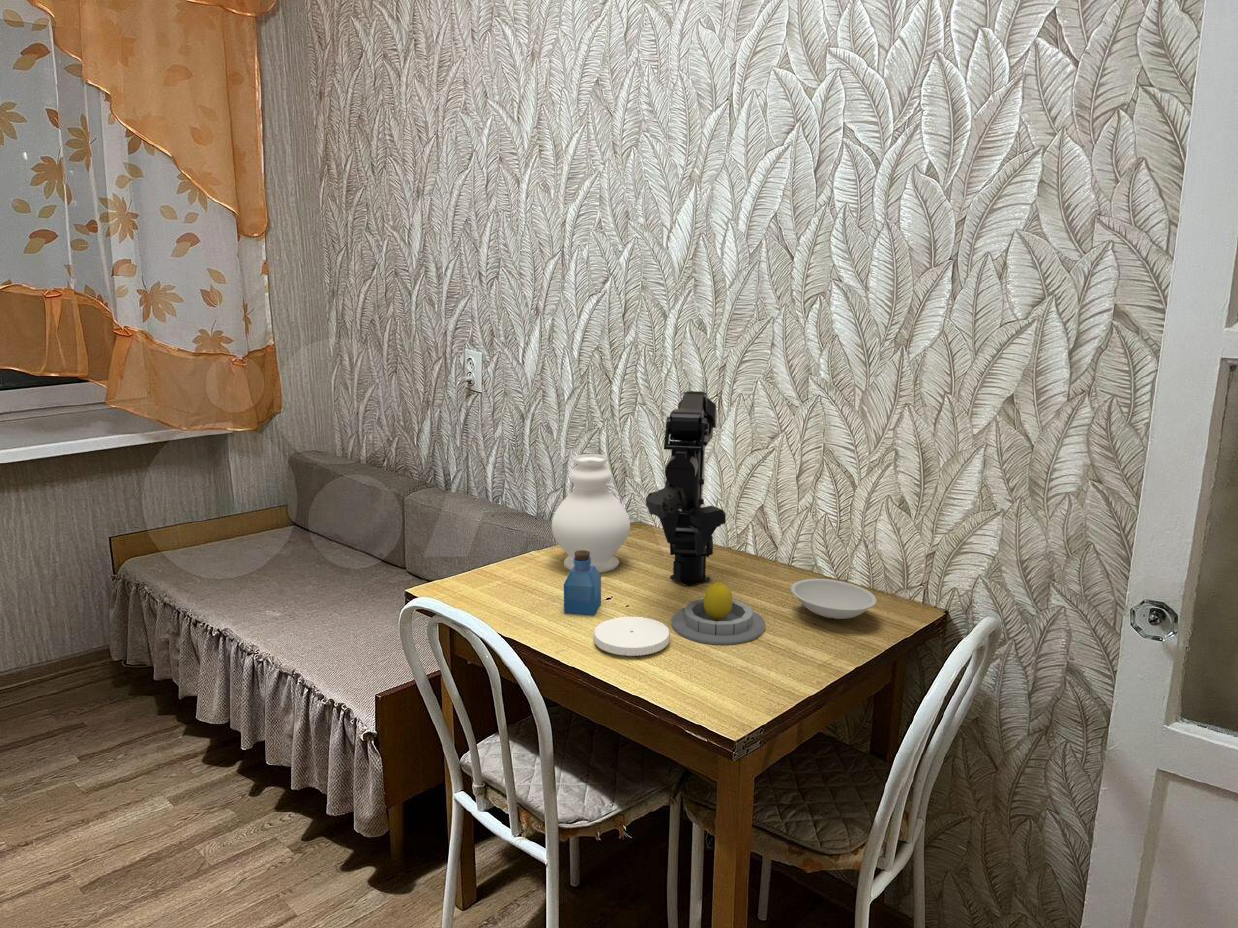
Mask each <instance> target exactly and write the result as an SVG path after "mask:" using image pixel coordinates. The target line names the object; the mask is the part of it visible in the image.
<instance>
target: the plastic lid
mask: <svg viewBox="0 0 1238 928" xmlns="http://www.w3.org/2000/svg"><path fill="white" fill-rule="evenodd" d="M593 641H594V644H595V645H596V646H597V647H598V648H599V649H600V650H602V651H604V652H607V653H610V654H615V655H619V656H628V657H632V656H633V657H635V656H637V657H638V656H645V655H649V654H651V655H652V654H654V653H657V652H660V651H662V650H664V649H665V648H666V647H667V646H668V645H669V643H670V629H669V628H668V626H667V625H666V624H664V623H662V622H660V621H658V620H655V619H652V618H649V617H640V616H622V617H621V616H620V617H616V618H614V617H613V618H610V619H607V620H605V621H603V622H601V623H599V624H597V625H596V626H595V628H594V631H593Z"/></svg>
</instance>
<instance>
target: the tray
mask: <svg viewBox="0 0 1238 928" xmlns="http://www.w3.org/2000/svg"><path fill="white" fill-rule="evenodd" d="M671 628H672V629H673V631H674V632H675V633H676V634H678V635H679V636H681V637H682V638H684V639H687V640H689V641H693V642H696V643H700V644H705V645H712V646H713V645H714V646H730V645H732V646H733V645H740V644H744V643H748V642H751V640H752V641H754V640H756V639H759V637H761V636H762V635H763V634H764V632H765V630H766V623H765V619H764V618H763V617H762V616H761V614H759V613H757V612H756V611H754V610H752V608H751V606H749V605H748V604H746V603H744V602H742V601H739V600H736V599H732V609H731V611H730V613H729V615H728V616H726V617H725V618H723V619H721V620H719V621H716V620H715V619H714V618H711V617H710V616H709V615H708V614H707V613H706V611H705V608H704V598H700V599H696V600H692V601H690V602H689V603H687V605H686V606H684V607H683V608H681V609H680V610H678V611H676V612H675V613H674V614H673V615H672V618H671ZM762 633H763V634H762Z"/></svg>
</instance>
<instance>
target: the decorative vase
mask: <svg viewBox="0 0 1238 928" xmlns="http://www.w3.org/2000/svg"><path fill="white" fill-rule="evenodd" d="M607 462H608V457H607V456H606V455H603V454H597V453H586V454H578V455H575V456H574V457H573V463H574V464H576V465H575V466H574V467H573V468H572V469H571V470H570V472H569V480H570V481H571V482H572V483H573V484H574V485H575V486H576V487H575V488H574V489H573V490H572V491H571V492H570V493H569V494H568V495H567V496H566V497H565V498H564V499H563V500H562V501H561V503H560V504H559V506H558V507H557V509H556V510H555V513H554V514H553V517H552V520H551V534H552V536H553V538H554V539H555V541H556V542H557V544H558V545H559V546H560V547H561V549H562V550H563V551H564V552H565V553H566V554H567V557H566V558H564V560H563V566H564V567H565V568H566V569H567V570H570V571H571V570H572V568H573V567H574V565H575V564H574V558H575V554H574V553H575V552H576V551H579V550H586V551H589V552H590V556H589V557H590V558H591V564H590V566H595V568H596V569H597V571H598V572H599V574H601V573H605V572H610V571H613V570H615V569H616V568H618V567H619V564H620V561H619V559H618V557H617V556H616V555H615V554H616V553H617V552H618V551H619V549H620V548H621V547H622V546H623V545H624V543H625V541H626V540H627V538H628V537H629V536H630V535H629V534H630V531H631V521H630V517H629V514H628V512H627V509H626V508H625V507H624V506H623V504H622V503H621V502H620V500H619V499H618V498H617V497H616V496H615V494H613V493H612V492H611V491H610V490H609V489H607V487H606V485H607V484H609V482H610V481H611V480H612V477H613V476H612V472H611V470H610V468H609V467H607V466H606V465H604V464H606V463H607ZM614 555H615V556H614Z"/></svg>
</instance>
